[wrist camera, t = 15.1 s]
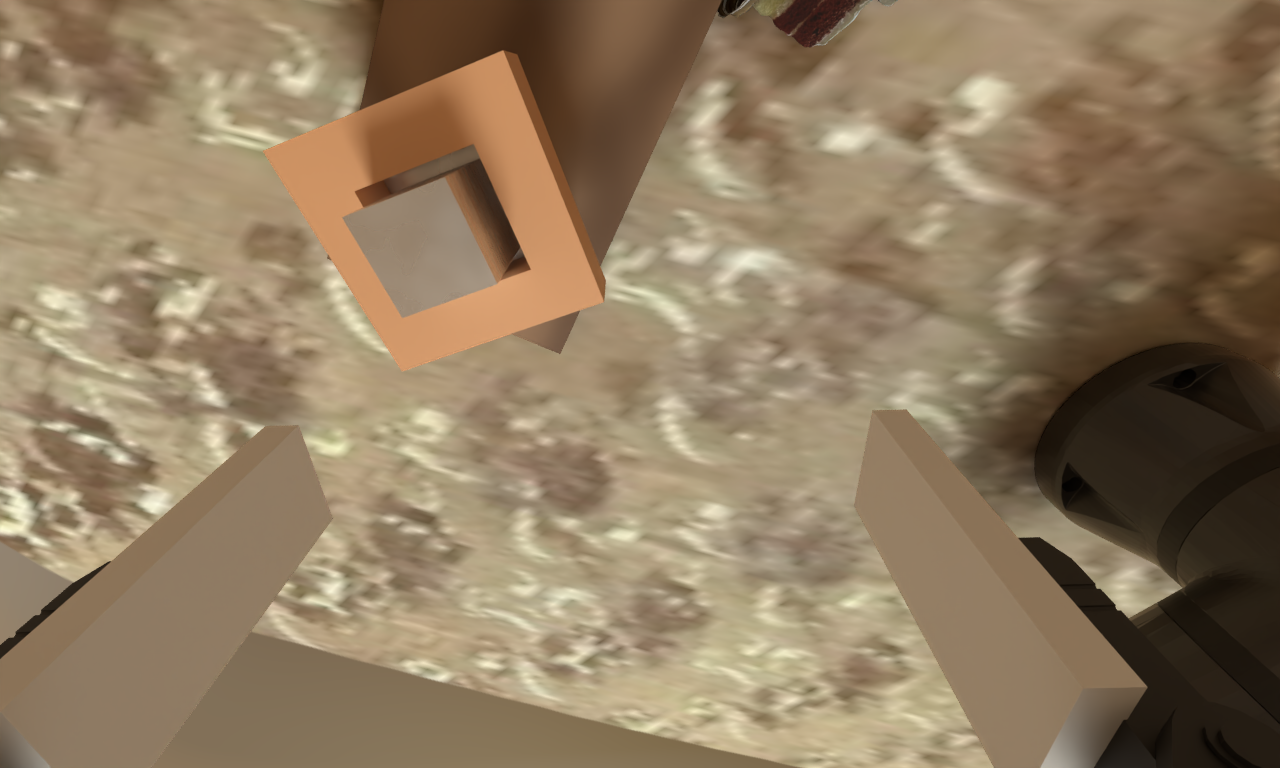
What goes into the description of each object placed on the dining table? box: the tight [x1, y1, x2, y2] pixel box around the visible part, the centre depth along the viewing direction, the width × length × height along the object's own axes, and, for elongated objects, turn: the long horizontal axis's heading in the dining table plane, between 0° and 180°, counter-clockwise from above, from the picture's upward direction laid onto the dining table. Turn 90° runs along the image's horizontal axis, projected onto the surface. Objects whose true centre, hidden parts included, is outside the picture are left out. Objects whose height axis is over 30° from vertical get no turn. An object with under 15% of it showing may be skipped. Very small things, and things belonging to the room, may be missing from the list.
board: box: [327, 0, 722, 354], centre depth 26 cm, size 14×32×2 cm, turn 154°
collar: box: [263, 50, 606, 371], centre depth 24 cm, size 10×10×3 cm
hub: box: [342, 144, 525, 318], centre depth 25 cm, size 7×7×11 cm
